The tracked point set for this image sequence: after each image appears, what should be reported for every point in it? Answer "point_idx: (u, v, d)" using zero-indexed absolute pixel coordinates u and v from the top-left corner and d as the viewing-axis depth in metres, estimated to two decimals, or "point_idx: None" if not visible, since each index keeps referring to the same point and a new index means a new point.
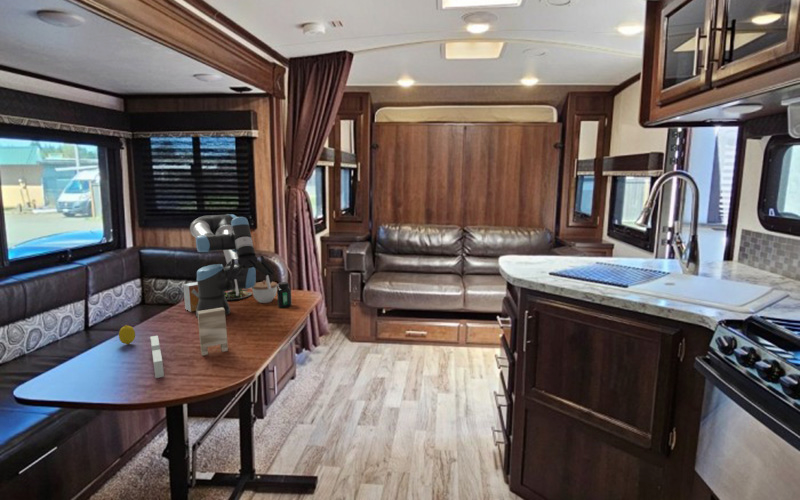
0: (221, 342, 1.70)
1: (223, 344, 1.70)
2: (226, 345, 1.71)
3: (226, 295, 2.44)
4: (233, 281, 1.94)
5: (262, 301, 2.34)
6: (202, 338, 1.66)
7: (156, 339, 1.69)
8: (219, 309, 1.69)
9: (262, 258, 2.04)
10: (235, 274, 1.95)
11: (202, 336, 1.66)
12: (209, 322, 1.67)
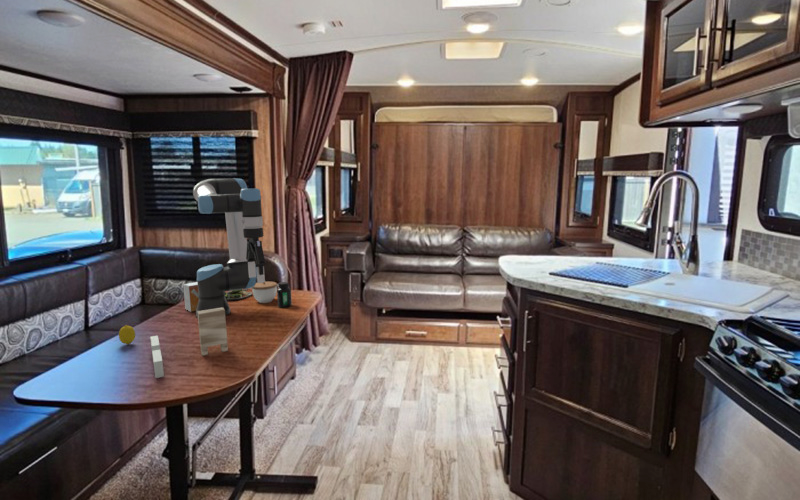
0: (221, 342, 1.70)
1: (223, 344, 1.70)
2: (226, 345, 1.71)
3: (226, 295, 2.44)
4: None
5: (262, 301, 2.34)
6: (202, 338, 1.66)
7: (156, 339, 1.69)
8: (219, 309, 1.69)
9: (255, 244, 1.76)
10: (248, 256, 1.87)
11: (202, 336, 1.66)
12: (209, 322, 1.67)
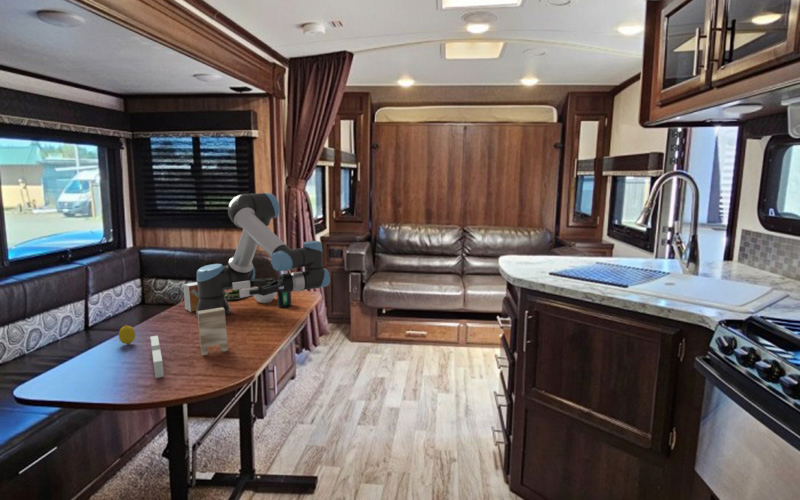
0: (221, 342, 1.70)
1: (223, 344, 1.70)
2: (226, 345, 1.71)
3: (226, 295, 2.44)
4: (256, 293, 1.68)
5: (262, 301, 2.34)
6: (202, 338, 1.66)
7: (156, 339, 1.69)
8: (219, 309, 1.69)
9: None
10: None
11: (202, 336, 1.66)
12: (209, 322, 1.67)
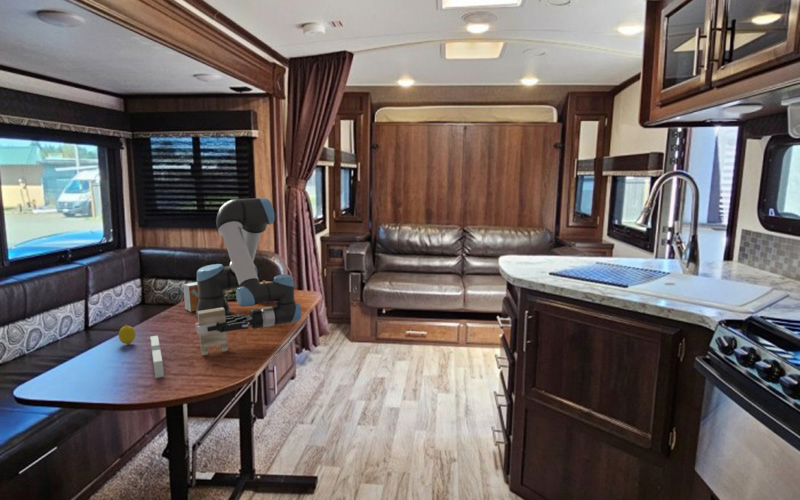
0: (221, 342, 1.70)
1: (223, 344, 1.70)
2: (226, 345, 1.71)
3: (226, 295, 2.44)
4: (214, 329, 1.67)
5: None
6: (202, 338, 1.66)
7: (156, 339, 1.69)
8: (219, 309, 1.69)
9: None
10: None
11: (202, 336, 1.66)
12: (209, 322, 1.67)
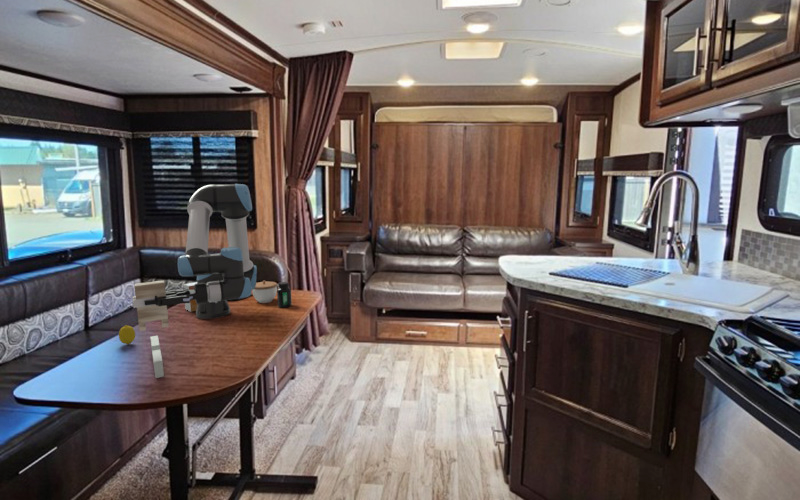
0: (161, 317, 1.58)
1: (163, 320, 1.59)
2: (167, 321, 1.59)
3: None
4: (153, 303, 1.55)
5: (262, 301, 2.34)
6: (139, 312, 1.55)
7: (156, 339, 1.69)
8: (158, 282, 1.58)
9: None
10: None
11: (139, 310, 1.55)
12: (147, 296, 1.55)
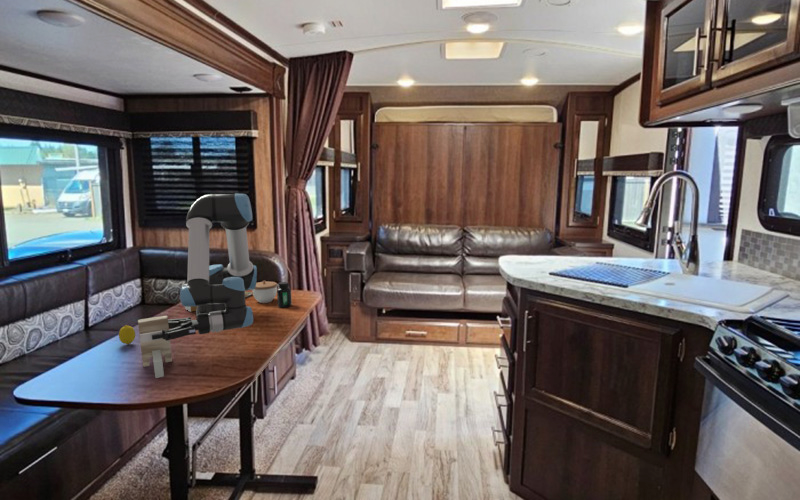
0: (164, 352, 1.60)
1: (166, 355, 1.61)
2: (170, 355, 1.62)
3: None
4: None
5: (262, 301, 2.34)
6: (143, 348, 1.57)
7: None
8: (162, 317, 1.60)
9: None
10: None
11: (143, 346, 1.57)
12: (150, 332, 1.57)
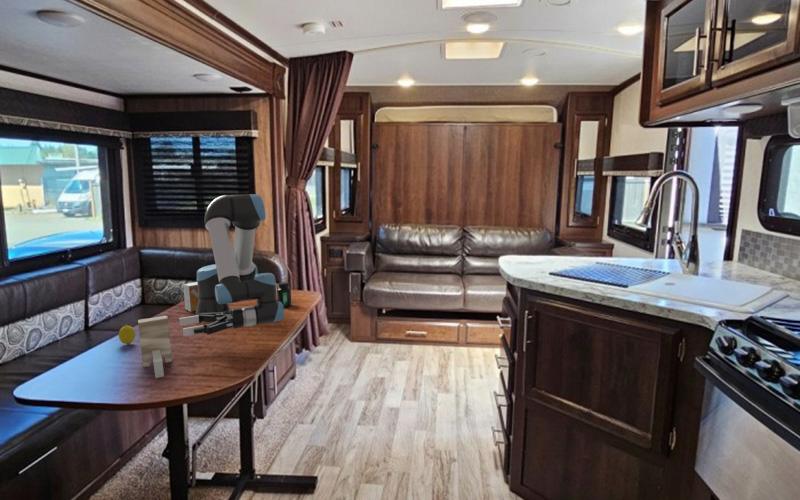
0: (164, 352, 1.60)
1: (166, 355, 1.61)
2: (170, 356, 1.62)
3: None
4: None
5: None
6: (143, 348, 1.57)
7: None
8: (162, 318, 1.60)
9: None
10: None
11: (143, 346, 1.57)
12: (150, 332, 1.57)
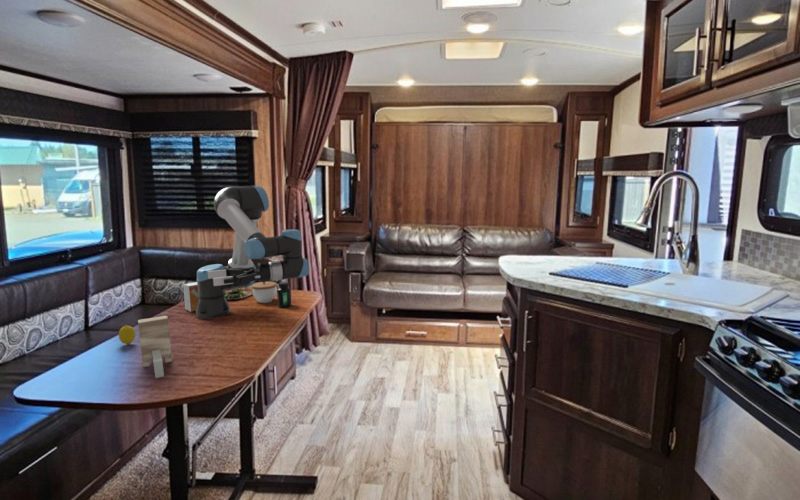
0: (164, 352, 1.60)
1: (166, 355, 1.61)
2: (170, 356, 1.62)
3: (226, 295, 2.44)
4: (231, 282, 1.63)
5: (262, 301, 2.34)
6: (143, 348, 1.57)
7: None
8: (162, 318, 1.60)
9: None
10: None
11: (143, 346, 1.57)
12: (150, 332, 1.57)
